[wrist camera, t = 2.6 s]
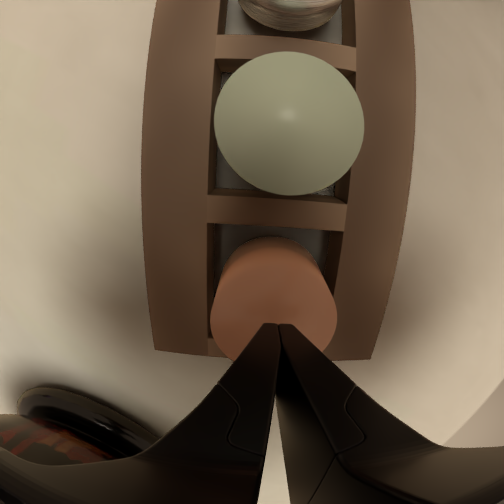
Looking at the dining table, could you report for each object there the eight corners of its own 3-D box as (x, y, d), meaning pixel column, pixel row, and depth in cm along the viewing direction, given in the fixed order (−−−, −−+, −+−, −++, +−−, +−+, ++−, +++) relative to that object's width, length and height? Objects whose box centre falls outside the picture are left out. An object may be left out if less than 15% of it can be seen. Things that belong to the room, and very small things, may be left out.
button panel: (386, -25, 8) (401, -42, 6) (359, 335, 15) (370, 359, 13) (181, -43, 8) (172, -64, 6) (165, 326, 15) (154, 349, 13)
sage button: (339, 84, 9) (366, 63, 6) (332, 187, 11) (357, 201, 8) (229, 74, 9) (219, 48, 6) (223, 180, 11) (210, 191, 8)
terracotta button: (326, 239, 11) (347, 269, 8) (312, 327, 13) (324, 372, 10) (222, 233, 11) (209, 261, 8) (220, 323, 13) (211, 368, 10)
